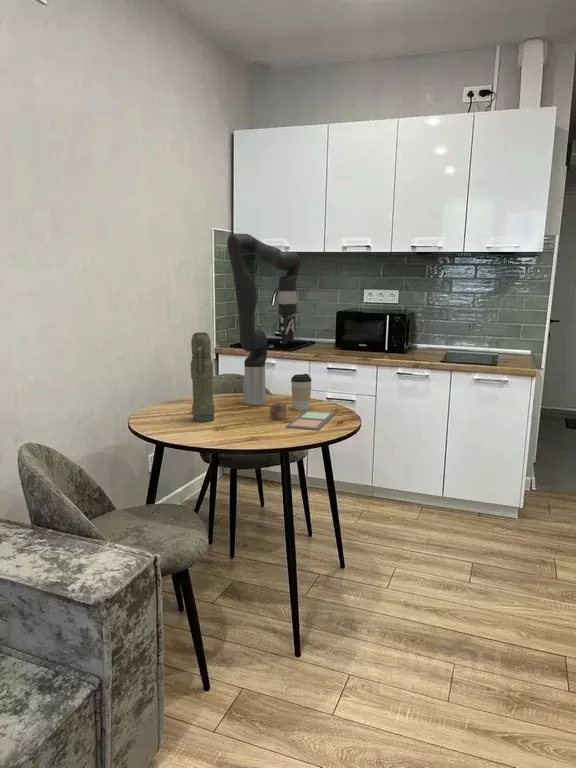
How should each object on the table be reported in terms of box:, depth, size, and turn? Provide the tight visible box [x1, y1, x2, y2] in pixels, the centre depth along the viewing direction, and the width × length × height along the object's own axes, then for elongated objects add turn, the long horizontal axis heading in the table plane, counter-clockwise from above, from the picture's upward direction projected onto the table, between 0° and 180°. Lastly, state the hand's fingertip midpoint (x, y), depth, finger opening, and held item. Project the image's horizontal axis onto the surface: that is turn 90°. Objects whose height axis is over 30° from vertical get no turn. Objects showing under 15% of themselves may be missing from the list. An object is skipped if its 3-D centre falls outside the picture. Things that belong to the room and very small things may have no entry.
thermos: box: [190, 332, 216, 423], centre depth 229 cm, size 9×12×35 cm
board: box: [285, 410, 336, 431], centre depth 229 cm, size 13×26×1 cm, turn 162°
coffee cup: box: [290, 373, 312, 412], centre depth 249 cm, size 9×9×15 cm
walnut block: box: [269, 402, 287, 421], centre depth 233 cm, size 5×5×6 cm
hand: (287, 342), depth 236 cm, fingers open, 8 cm apart
